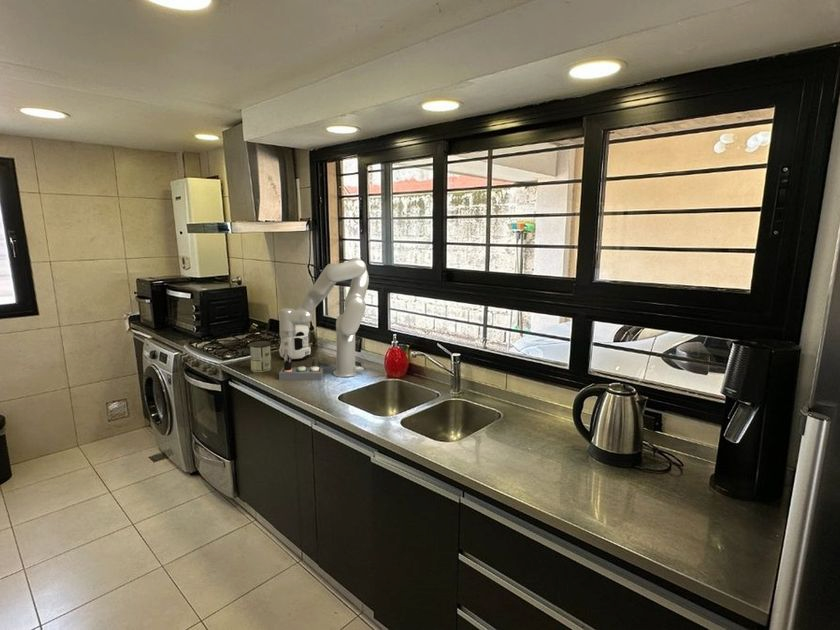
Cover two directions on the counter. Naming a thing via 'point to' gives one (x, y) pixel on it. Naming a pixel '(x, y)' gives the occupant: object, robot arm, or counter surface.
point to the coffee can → (260, 356)
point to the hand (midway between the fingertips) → (287, 369)
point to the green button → (301, 369)
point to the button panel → (301, 374)
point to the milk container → (300, 343)
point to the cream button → (315, 369)
